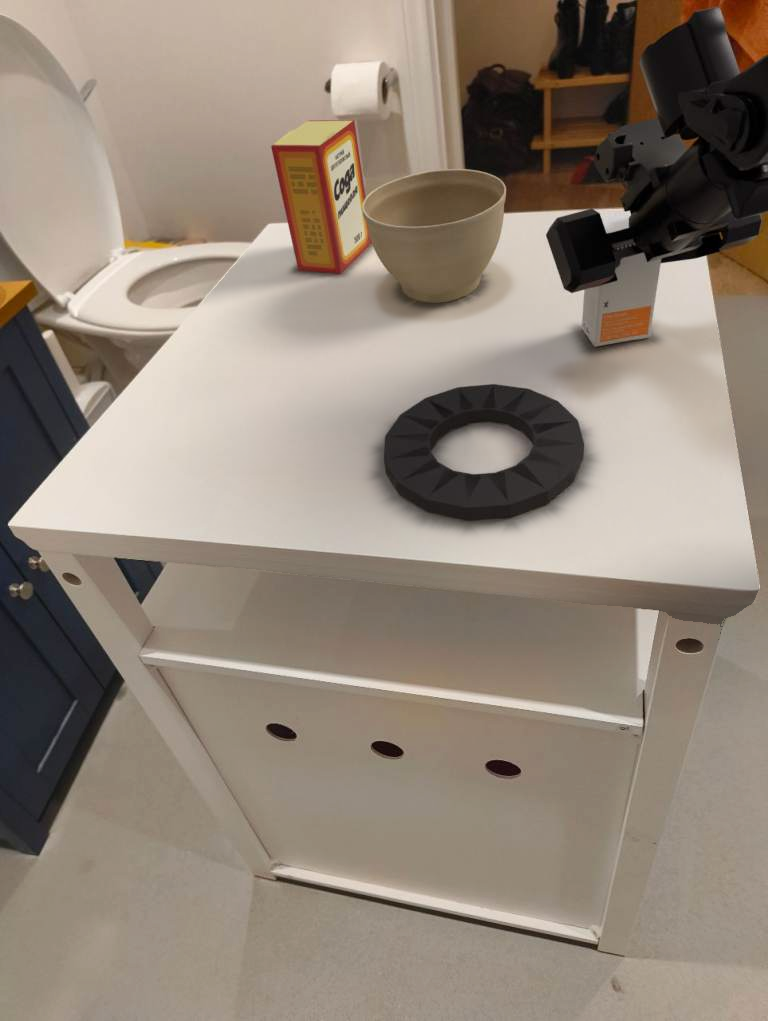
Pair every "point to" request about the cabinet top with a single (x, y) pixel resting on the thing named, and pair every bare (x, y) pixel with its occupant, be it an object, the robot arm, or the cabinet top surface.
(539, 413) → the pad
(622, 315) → the cosmetic box
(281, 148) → the baking soda box
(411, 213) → the planter bowl
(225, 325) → the cabinet top surface
